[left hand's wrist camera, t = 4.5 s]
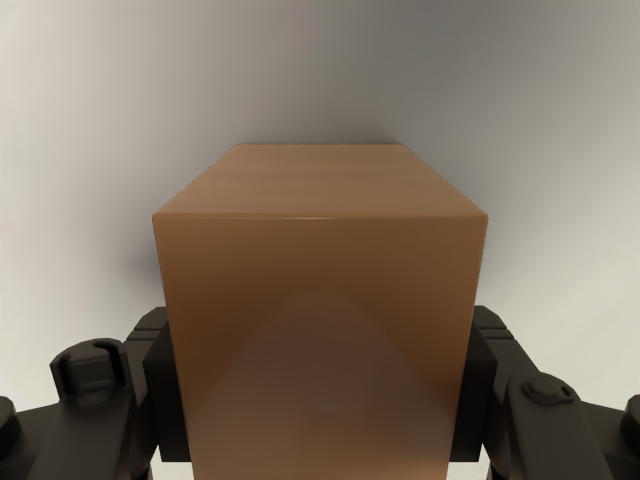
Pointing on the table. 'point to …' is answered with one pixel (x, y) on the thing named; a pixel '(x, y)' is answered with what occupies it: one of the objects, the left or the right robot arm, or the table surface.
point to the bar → (320, 311)
